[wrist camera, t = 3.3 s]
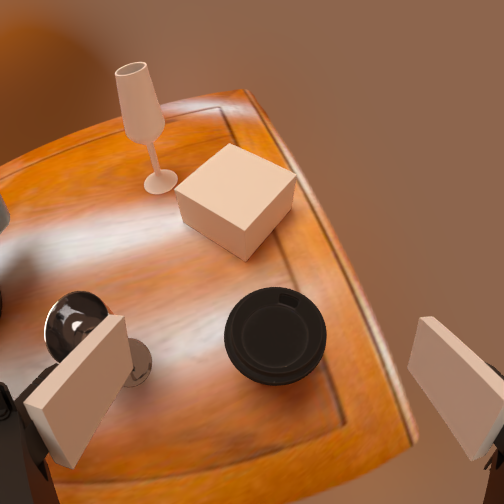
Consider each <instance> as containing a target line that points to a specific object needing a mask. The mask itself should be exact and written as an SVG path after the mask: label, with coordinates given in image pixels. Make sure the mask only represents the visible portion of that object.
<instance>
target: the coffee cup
mask: <svg viewBox="0 0 504 504" xmlns="http://www.w3.org/2000/svg"><path fill="white" fill-rule="evenodd" d="M326 338H327V333H326V326H325V322H324V319H323V317H322V315H321V313H320V311H319V310H318V308H317V307H316V306H315V304H314V303H313V302H312V301H311V300H309V299H308V298H307V297H306V296H304V295H302V294H301V293H299V292H297V291H294V290H291V289H287V288H282V287H269V288H263V289H259V290H257V291H254V292H252V293H250V294H248V295H247V296H245V297H244V298H243V299H241V300H240V301H239V302H238V303H237V304H236V305H235V307H234V308H233V309H232V311H231V313H230V315H229V317H228V320H227V322H226V326H225V331H224V342H225V348H226V351H227V354H228V356H229V358H230V360H231V362H232V363H233V365H234V366H235V367H236V368H237V369H238V370H239V371H240V372H241V373H242V374H243V375H244V376H246V377H247V378H249V379H251V380H253V381H255V382H258V383H261V384H265V385H273V386H279V385H286V384H291V383H294V382H296V381H299V380H300V379H302V378H304V377H305V376H307V375H308V374H309V373H311V372H312V371H313V370H314V368H315V367H316V366H317V365H318V363H319V362H320V360H321V358H322V356H323V353H324V350H325V346H326Z"/></svg>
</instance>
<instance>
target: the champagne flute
mask: <svg viewBox="0 0 504 504" xmlns="http://www.w3.org/2000/svg"><path fill="white" fill-rule="evenodd" d="M115 76H116V83H117V89H118V95H119V100H120V106H121V112H122V117H123V122H124V128H125V132H126V135H127V137H128V138H129V139H131V140H132V141H134V142H136V143H139V144H144V145H147V148H148V152H149V155H150V158H151V162H152V165H153V168H154V173H152V174H150V175H149V176H148V177H147V179H146V180H145V183H144V188H145V190H146V191H147V192H149V193H151V194H162V193H165V192H168V191H170V190H171V189H172V188H173V187H174V186H175V185H176V183H177V180H178V177H177V175H176V173H175V172H173V171H171V170H160V166H159V163H158V159H157V156H156V152H155V148H154V145H153V142H154V141H155V140H156V139H157V138H158V137H159V136H160V135H161V133H162V131H163V129H164V126H165V120H164V117H163V114H162V111H161V108H160V105H159V102H158V99H157V96H156V93H155V90H154V87H153V83H152V80H151V77H150V74H149V71H148V68H147V65H146V63H144V62H136V63H131V64H128V65H125V66H123V67H121V68H120V69H118V70H117V71H116V72H115Z"/></svg>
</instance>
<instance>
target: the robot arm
mask: <svg viewBox="0 0 504 504" xmlns="http://www.w3.org/2000/svg"><path fill="white" fill-rule="evenodd" d="M9 222H10V213H9V211H8V209H7V207H6V204H5V202H4V200H3V198H2V196H1V194H0V234H1V233H2V231H3V230H4V229H5V228H6V227H7V226H8V224H9ZM1 309H2V297H1V292H0V316H1ZM407 369H408V370H409V371H410V373H411V374H412V375H413V377H414V378H415V380H416V381H417V382H418V384H419V385H420V387H421V388H422V389H423V391H424V392H425V394H426V395H427V397H428V398H429V399H430V401H431V402H432V404H433V405H434V407H435V408H436V409H437V411H438V412H439V414H440V415H441V417H442V418H443V420H444V421H445V423H446V424H447V426H448V427H449V429H450V430H451V432H452V433H453V435H454V436H455V437H456V439H457V440H458V442H459V444H460V445H461V447H462V448H463V450H464V451H465V453H466V454H467V456H468V458H469V459H470V461H473V460H475V459H477V458H480V457H482V456H484V455H486V454H487V452H488V451H489V449H490V448H491V446H492V444H493V443H494V444H495V446H496V447H497V449H496V450H495V452H494V453H493V455H492V457H491V458H490V459H489V461H488V462H487V464H486V465H485V467H484V469H485V470H486V469H487V468H488V466H489V465H490V464H491V463H492V464H491V468H490V475H489V480H488V485H487V489H486V494H485V498H484V501H483V504H504V376H503V375H501V373H500V372H499V371H498V370H497V369H496V368H495V367H493V366H491V365H490V364H488V363H486V362H484V361H482V360H481V359H480V358H479V357H478V356H477V355H476V354H475V353H474V352H473V351H472V350H470V349H469V348H468V347H467V346H466V345H465V344H464V343H463V342H462V341H460V340H459V339H458V338H457V337H456V336H455V335H454V334H453V333H451V332H450V331H449V330H448V329H447V328H446V327H445V326H443V325H442V324H441V323H440V322H439V321H437V320H436V319H435V318H434V317H433V316H432V317H420V318H419V323H418V327H417V332H416V336H415V340H414V344H413V348H412V352H411V356H410V359H409V363H408V367H407ZM132 370H133V363H132V358H131V353H130V347H129V342H128V336H127V330H126V324H125V317H124V316H120V315H108V316H107V317H106V318H105V319H104V320H103V321H102V322H101V323H100V324H99V325H98V326H97V327H96V328H95V329H94V330H93V331H92V332H91V333H90V334H89V335H88V336H87V337H86V338H85V339H84V340H83V341H82V342H81V343H80V344H79V345H78V346H77V347H76V348H75V349H74V350H73V351H72V352H71V353H70V354H69V355H68V356H67V357H66V358H65V359H64V360H63V361H62V362H61V363H60V364H57V363H56V364H54V365H52V366H50V367H48V368H46V369H45V370H44V371H43V372H42V373H41V374H40V375H39V376H38V378H36V379H35V380H34V381H33V382H32V384H30V385H29V386H28V387H27V388H26V389H25V390H24V391H23V392H22V393H21V394H20V396H19V397H18V398H17V399H16V400H15V401H13V399H12V396H11V394H10V392H9V389H8V387H7V385H5V384H4V383H3V382H0V504H60V503H59V500H58V497H57V494H56V491H55V488H54V485H53V481H52V478H51V475H50V471H49V467H48V464H47V462H46V460H45V459H44V458H45V457H46V455H47V454H48V452H49V453H50V455H51V457H52V458H53V460H54V462H55V463H57V464H59V465H62V466H65V467H67V468H70V469H74V468H75V466H76V464H77V462H78V460H79V459H80V457H81V455H82V453H83V452H84V450H85V448H86V446H87V445H88V443H89V441H90V440H91V438H92V436H93V434H94V433H95V431H96V429H97V428H98V426H99V424H100V422H101V421H102V419H103V417H104V416H105V414H106V412H107V411H108V409H109V407H110V406H111V404H112V402H113V401H114V399H115V397H116V396H117V394H118V393H119V391H120V389H121V388H122V386H123V384H124V383H125V381H126V379H127V378H128V376H129V375H130V373H131V371H132Z"/></svg>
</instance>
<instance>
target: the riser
mask: <svg viewBox="0 0 504 504" xmlns="http://www.w3.org/2000/svg"><path fill="white" fill-rule="evenodd" d="M296 176H297V175H296V174H294V173H292V172H290V171H288V170H286V169H284V168H282V167H280V166H278V165H276V164H274V163H272V162H269V161H267V160H265V159H263V158H261V157H259V156H257V155H254V154H252V153H250V152H248V151H246V150H243V149H241V148H239V147H237V146H235V145H232V144H230V143H229V144H228V145H226V146H225V147H224V148H223V149H221V150H220V151H219V152H218V153H216V154H215V155H214V156H213V157H211V158H210V159H209V160H208V161H207V162H205V163H204V164H203V165H202V166H200V167H199V168H198V169H197V170H196V171H194V172H193V173H192V174H191V175H190V176H189V177H187V178H186V179H185V180H184V181H183V182H182V183H180V184H179V185H178V186H177V187H176V188H175V189H174V191H175V194H176V198H177V202H178V205H179V209H180V212H181V216H182V219H183V222H184V223H186V224H187V225H189V226H190V227H192V228H193V229H195V230H197V231H198V232H200V233H201V234H203V235H204V236H206V237H207V238H209V239H211V240H212V241H214V242H215V243H217V244H218V245H220V246H221V247H223V248H225V249H226V250H228V251H229V252H231V253H232V254H234V255H235V256H237V257H239V258H240V259H242V260H243V261H245V262H246V261H247V260H248V259H249V258H250V256H251V255H252V254H253V253H254V252H255V250H256V249H257V248H258V247H259V246H260V245H261V243H262V242H263V241H264V240H265V239H266V238H267V236H268V235H269V234H270V233H271V232H272V231H273V229H274V228H275V227H276V226H277V225H278V224H279V222H280V221H281V220H282V219H283V218H284V217H285V215H286V214H287V213H288V212H289V211H290V210H291V208H292V202H293V195H294V189H295V182H296Z"/></svg>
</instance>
